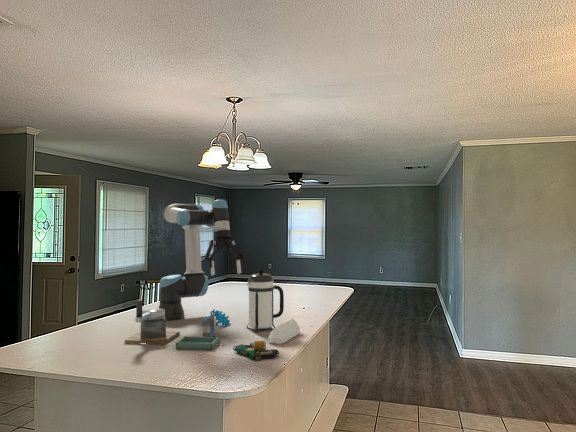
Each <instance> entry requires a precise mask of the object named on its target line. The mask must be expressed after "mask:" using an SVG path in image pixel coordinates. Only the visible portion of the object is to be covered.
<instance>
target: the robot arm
mask: <svg viewBox="0 0 576 432" xmlns="http://www.w3.org/2000/svg"><path fill="white" fill-rule="evenodd" d="M162 217H163V219H164V221H166V222H167V223H171V224H178V225H179V226H181V228H182V229H184V240H185V241H184V245H185V267H186V268H185V272H184V273H183V276H182V275H181V274H171V275H167V276H163V277H161V279H160V281H159V306H158V308H160V309H165V319H166V321H176V320H181V319H184V318H185V311H184V307H183V304H182V298H183V299H184V298H185V299H186V298H197V297H203V296H205V295H206V294H207V293H208V289H209V278H208V276H207V275H205V271H203V269H202V254H201V252H202V251H201V228H202V227H203V226H207V227H209V228H213V229H214V239H215V240H213V239H211V240H210V241H209V242H208V247H207V250H206V252H205V255H204V257H203V260H204V261H207V263H208V269H210V276H214V275H216V272H215V260H213V259H214V257H215V256H216V254H217V253H218V252H219V250H220V251H227V250H228V252H230V253H231V254H232V256H234V257H235V259H236V260H235V261H236V273H237V275H239V274H242V266H243V261H242V260H244V259H246V256H245V254H244V252H243V250H242V249H241V247H240V245H239V242H238V240H236V239H235V240H232V239H231V238H232V237H231V231H230V230H231V228H230V218H229V217H230V216H229V207H228V202H227V200H226V199H216V200H215V199H214V201H212V202H211V210H206V209H204V207H203V206H202V205H201V204H196V203H172V204H169V205H167V206H166V207H165V208H164V209H163V211H162ZM214 246H216V248H215V249H214V250H213V247H214ZM212 250H213V251H212ZM211 252H212V253H211Z"/></svg>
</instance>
